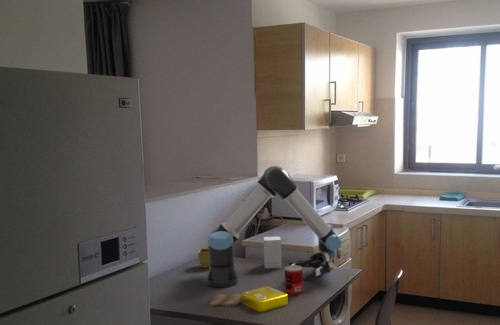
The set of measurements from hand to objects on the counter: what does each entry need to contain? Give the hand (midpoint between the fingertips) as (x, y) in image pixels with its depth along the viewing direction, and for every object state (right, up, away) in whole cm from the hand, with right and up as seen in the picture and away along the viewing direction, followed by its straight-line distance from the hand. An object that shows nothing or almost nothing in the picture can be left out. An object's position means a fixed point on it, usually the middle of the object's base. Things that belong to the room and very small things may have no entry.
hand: (302, 271), depth 219 cm
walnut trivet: (-34, -9, -15) cm, 39 cm away
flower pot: (-46, -7, +39) cm, 61 cm away
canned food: (-4, -7, -8) cm, 12 cm away
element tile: (-18, -9, -20) cm, 28 cm away
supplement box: (-12, -5, +35) cm, 37 cm away
